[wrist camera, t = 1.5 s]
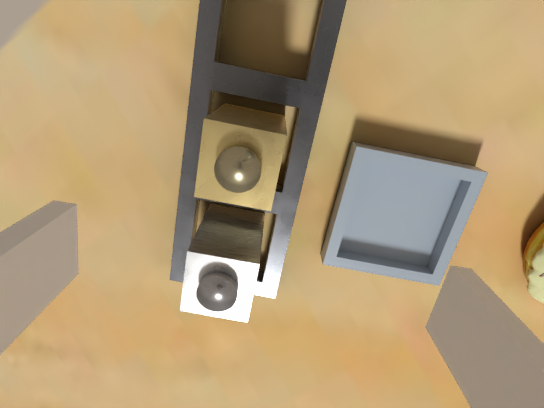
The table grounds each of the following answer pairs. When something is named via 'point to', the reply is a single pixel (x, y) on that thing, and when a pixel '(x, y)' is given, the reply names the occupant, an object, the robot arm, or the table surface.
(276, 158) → the gold block with knob
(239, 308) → the grey knobbed block
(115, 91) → the table surface
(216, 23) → the rail
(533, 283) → the decorated donut
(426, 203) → the parts tray
